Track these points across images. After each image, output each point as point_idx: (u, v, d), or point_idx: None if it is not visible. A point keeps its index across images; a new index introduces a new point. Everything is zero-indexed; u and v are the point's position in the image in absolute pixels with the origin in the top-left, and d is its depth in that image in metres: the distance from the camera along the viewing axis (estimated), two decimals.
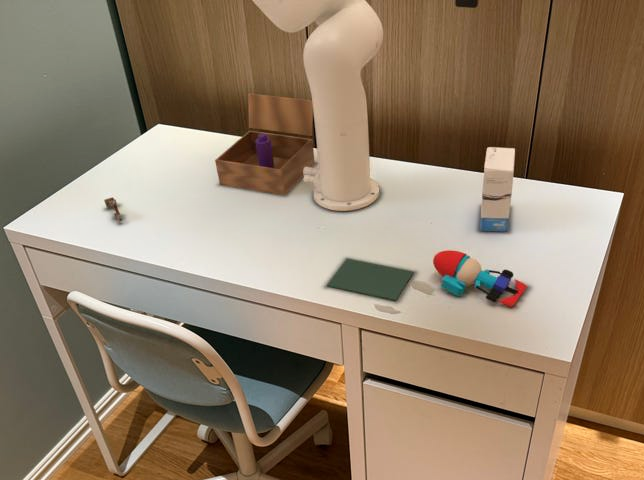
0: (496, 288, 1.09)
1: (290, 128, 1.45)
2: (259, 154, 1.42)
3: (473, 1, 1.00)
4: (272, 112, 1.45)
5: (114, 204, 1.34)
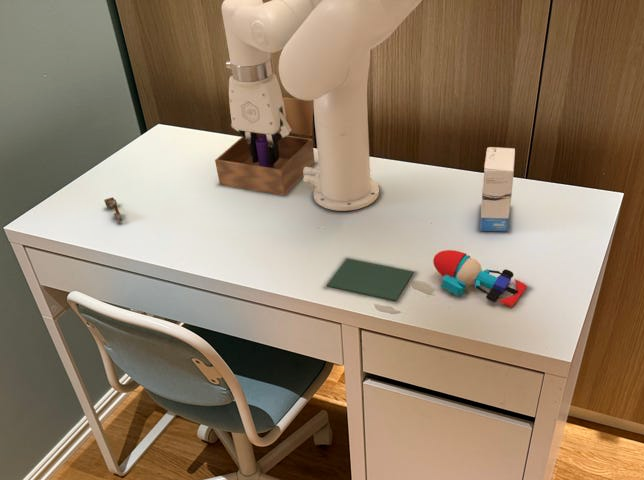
0: (496, 288, 1.09)
1: None
2: (259, 154, 1.42)
3: None
4: None
5: (114, 204, 1.34)
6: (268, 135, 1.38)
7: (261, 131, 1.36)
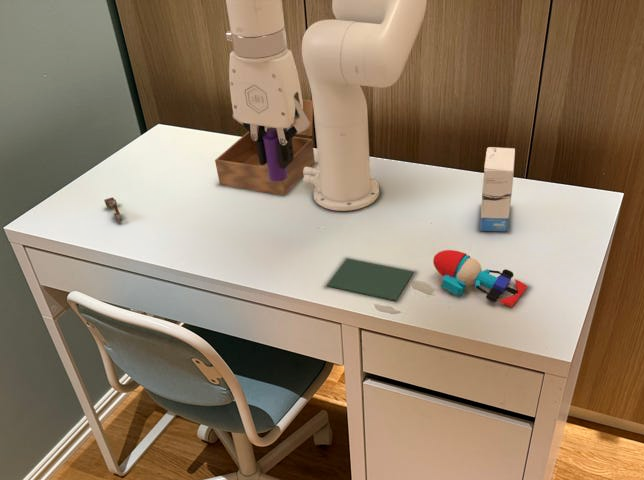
0: (496, 288, 1.09)
1: None
2: (267, 154, 1.10)
3: None
4: None
5: (114, 204, 1.34)
6: (279, 129, 1.06)
7: (270, 124, 1.05)
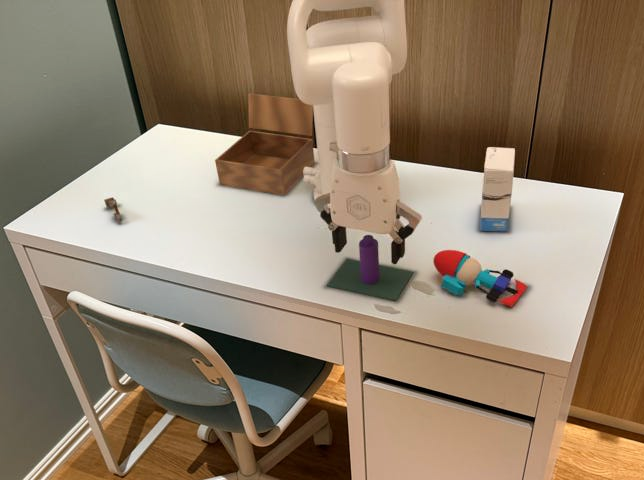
0: (496, 288, 1.09)
1: (290, 128, 1.45)
2: (363, 260, 1.12)
3: None
4: (272, 112, 1.45)
5: (114, 204, 1.34)
6: None
7: (370, 230, 1.06)
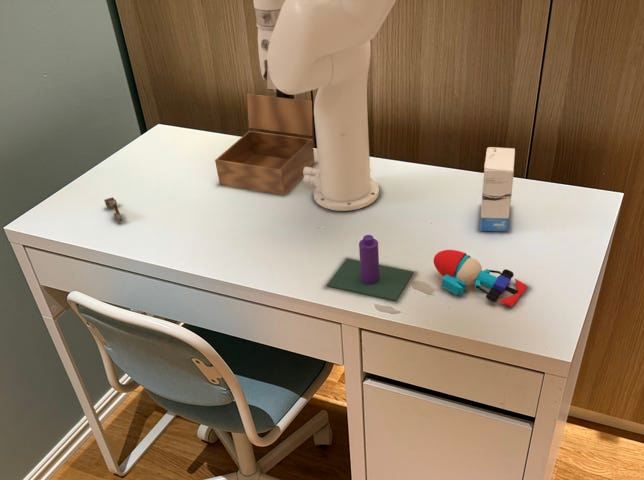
0: (496, 288, 1.09)
1: (290, 128, 1.45)
2: (363, 260, 1.12)
3: None
4: (271, 112, 1.45)
5: (114, 204, 1.34)
6: None
7: None
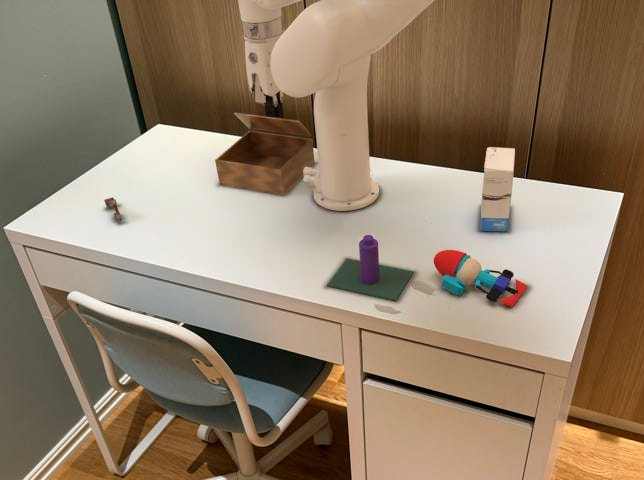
0: (496, 288, 1.09)
1: (288, 132, 1.45)
2: (363, 260, 1.12)
3: None
4: (265, 124, 1.43)
5: (114, 204, 1.34)
6: None
7: None
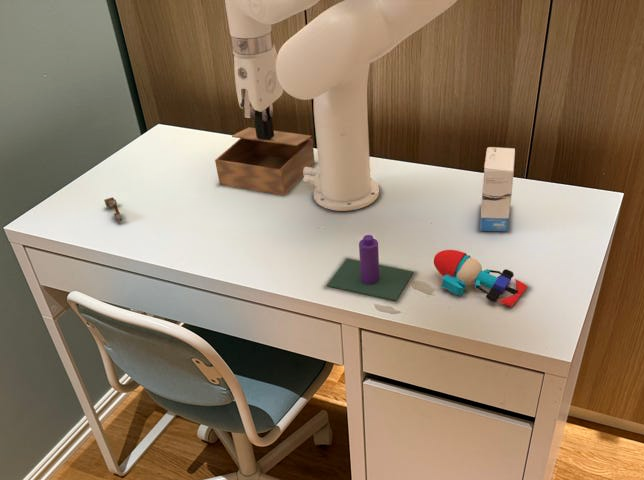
0: (496, 288, 1.09)
1: None
2: (363, 260, 1.12)
3: None
4: None
5: (114, 204, 1.34)
6: (270, 104, 1.38)
7: (277, 97, 1.37)
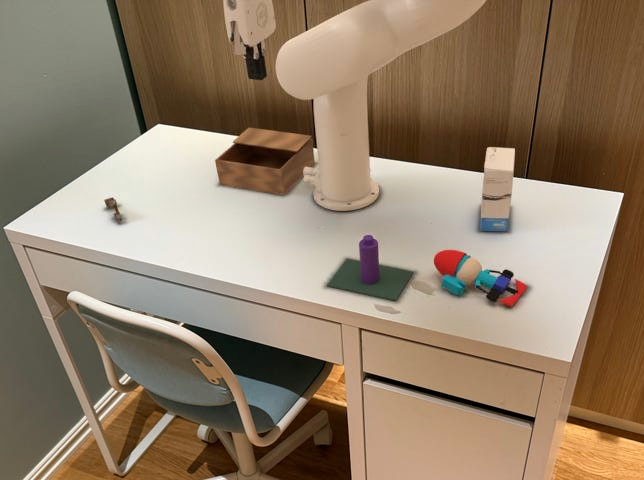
0: (496, 288, 1.09)
1: None
2: (363, 260, 1.12)
3: None
4: None
5: (114, 204, 1.34)
6: (262, 40, 1.30)
7: (269, 32, 1.29)
